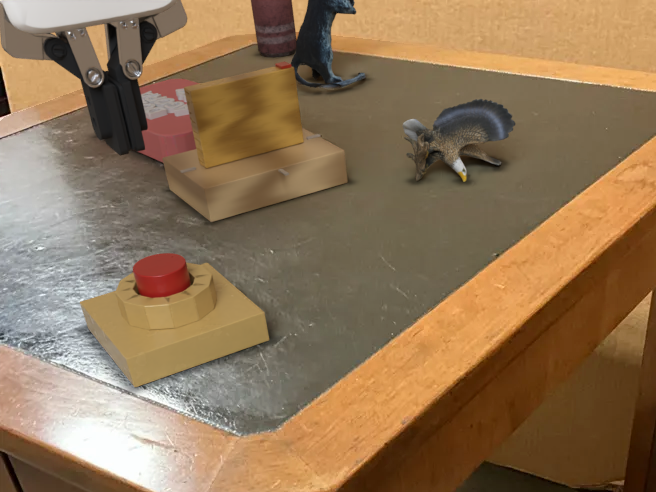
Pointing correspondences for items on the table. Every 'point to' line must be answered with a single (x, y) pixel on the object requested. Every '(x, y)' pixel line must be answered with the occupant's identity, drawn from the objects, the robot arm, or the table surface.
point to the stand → (256, 177)
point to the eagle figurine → (458, 135)
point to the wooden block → (245, 114)
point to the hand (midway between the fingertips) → (125, 146)
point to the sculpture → (320, 42)
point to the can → (274, 27)
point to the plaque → (167, 119)
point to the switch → (174, 325)
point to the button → (161, 275)
